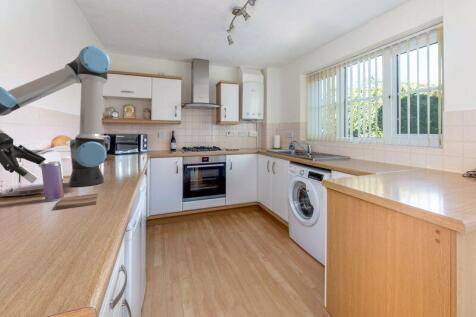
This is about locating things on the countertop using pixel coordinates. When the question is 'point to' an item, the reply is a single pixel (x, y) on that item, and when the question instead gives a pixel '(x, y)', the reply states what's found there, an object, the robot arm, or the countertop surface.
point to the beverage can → (52, 181)
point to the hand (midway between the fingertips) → (45, 176)
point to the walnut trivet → (77, 201)
